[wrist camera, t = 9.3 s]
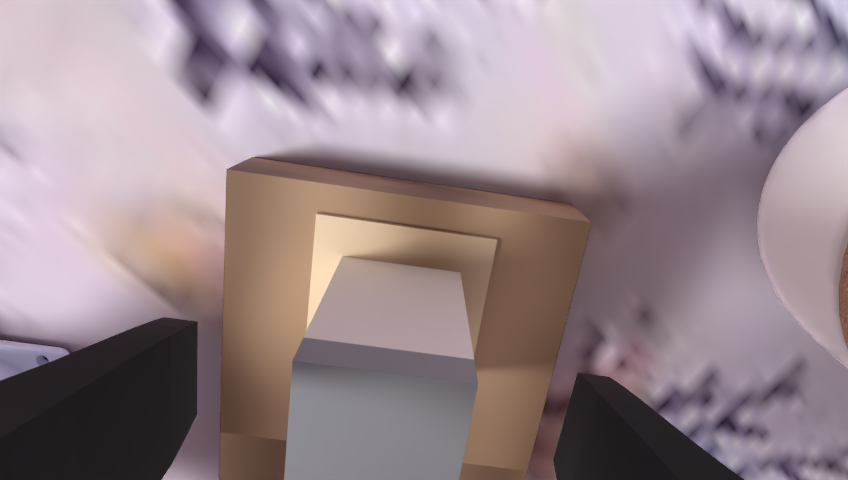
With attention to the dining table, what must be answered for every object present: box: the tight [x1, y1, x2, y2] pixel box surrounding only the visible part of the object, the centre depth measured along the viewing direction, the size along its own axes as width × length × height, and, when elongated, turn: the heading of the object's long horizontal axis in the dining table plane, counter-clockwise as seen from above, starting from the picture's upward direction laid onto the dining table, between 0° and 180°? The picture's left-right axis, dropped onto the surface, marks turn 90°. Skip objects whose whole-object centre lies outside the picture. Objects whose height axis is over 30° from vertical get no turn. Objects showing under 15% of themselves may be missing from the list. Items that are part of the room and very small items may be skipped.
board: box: [219, 157, 592, 480], centre depth 20 cm, size 12×18×3 cm, turn 172°
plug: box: [284, 256, 478, 480], centre depth 15 cm, size 4×4×6 cm
